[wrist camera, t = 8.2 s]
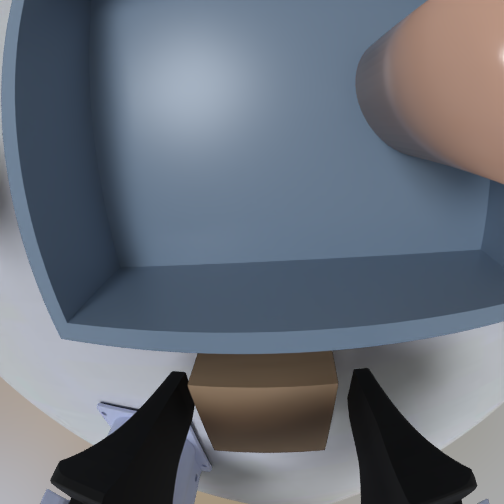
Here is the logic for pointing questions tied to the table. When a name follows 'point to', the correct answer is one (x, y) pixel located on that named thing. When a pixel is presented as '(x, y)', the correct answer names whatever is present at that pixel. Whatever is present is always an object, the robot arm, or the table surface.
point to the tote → (232, 181)
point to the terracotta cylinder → (440, 85)
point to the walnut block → (265, 400)
